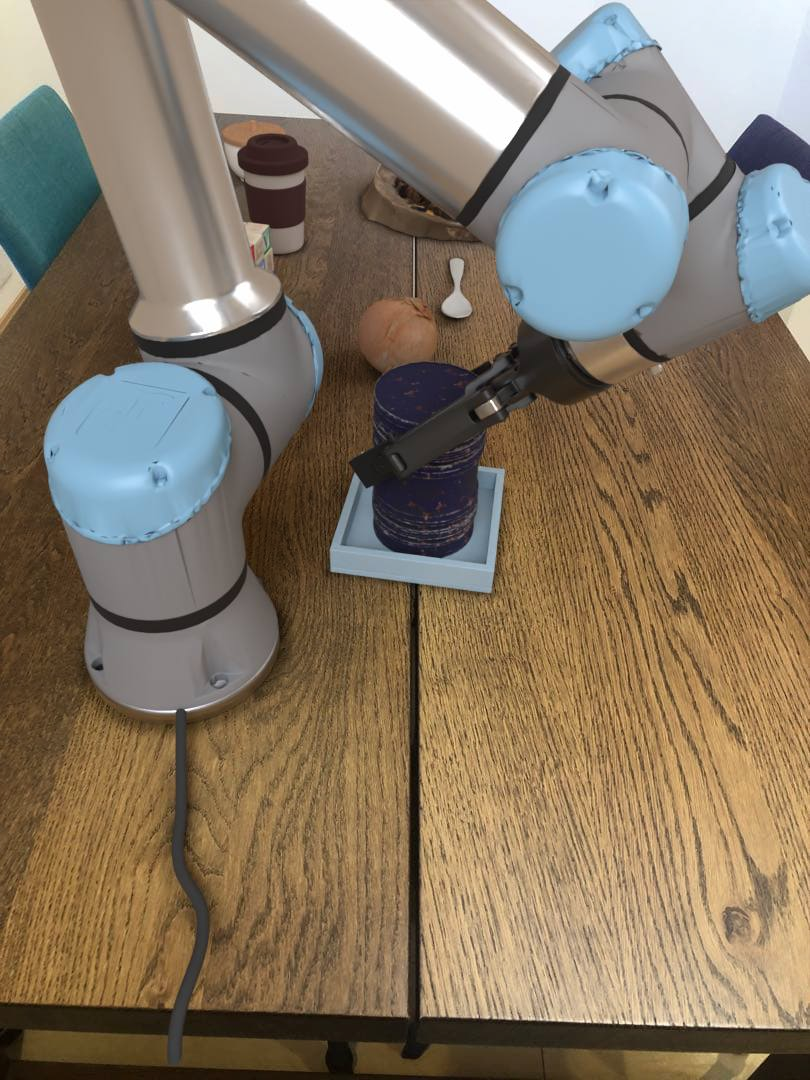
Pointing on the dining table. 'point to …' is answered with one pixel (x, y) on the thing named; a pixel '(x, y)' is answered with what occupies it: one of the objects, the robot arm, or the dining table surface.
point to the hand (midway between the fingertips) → (405, 435)
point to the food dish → (408, 209)
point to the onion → (397, 333)
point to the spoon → (456, 293)
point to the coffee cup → (276, 187)
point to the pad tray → (461, 570)
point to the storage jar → (438, 487)
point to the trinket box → (244, 139)
